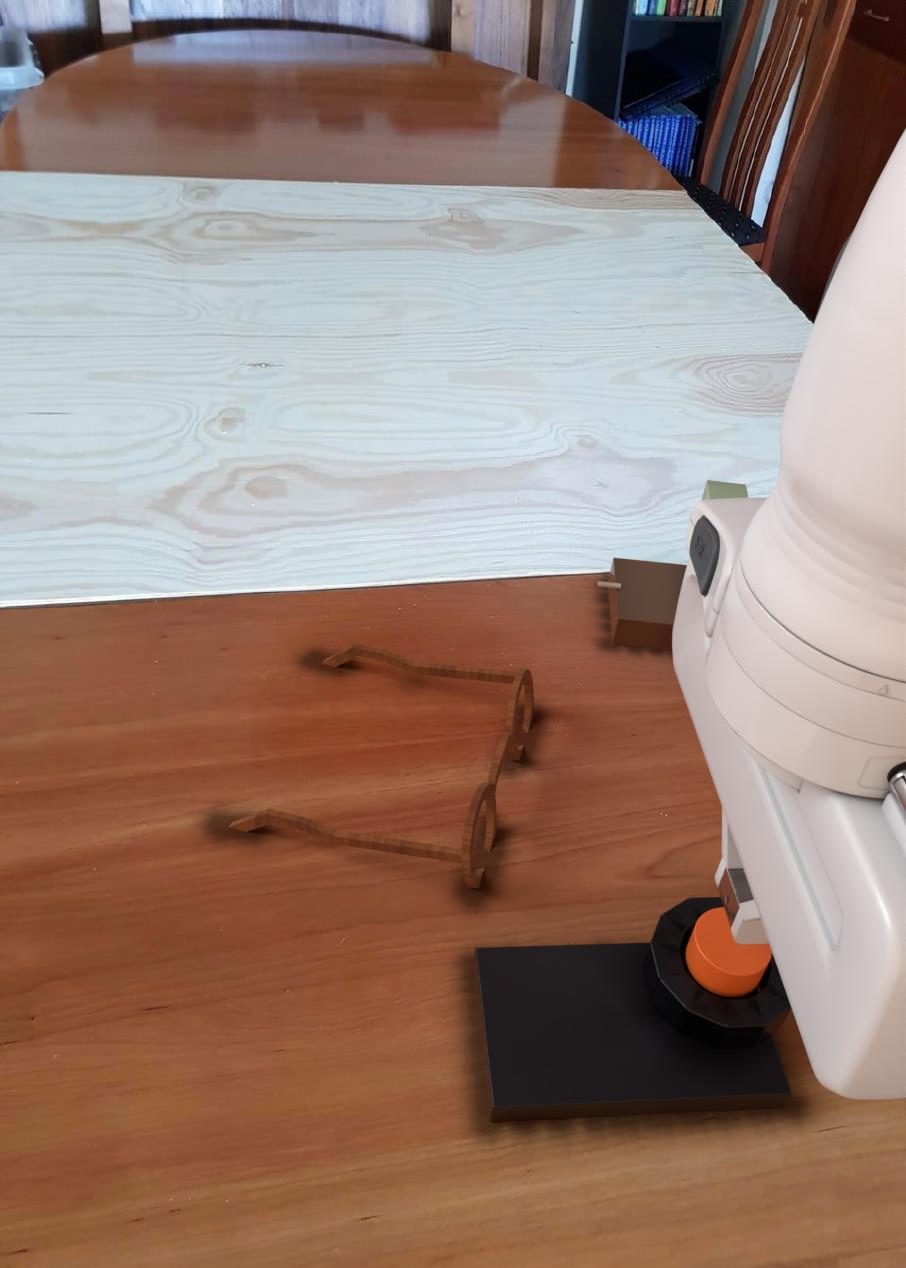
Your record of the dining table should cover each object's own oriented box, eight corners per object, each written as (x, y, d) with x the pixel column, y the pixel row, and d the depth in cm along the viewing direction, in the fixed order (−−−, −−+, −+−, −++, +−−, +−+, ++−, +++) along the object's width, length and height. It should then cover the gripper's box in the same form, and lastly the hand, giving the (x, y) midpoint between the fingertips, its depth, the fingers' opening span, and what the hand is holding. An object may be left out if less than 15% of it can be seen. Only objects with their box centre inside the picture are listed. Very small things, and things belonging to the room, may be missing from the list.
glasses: (475, 912, 50) (485, 846, 46) (218, 838, 52) (210, 770, 48) (534, 722, 59) (547, 656, 56) (316, 666, 61) (315, 599, 58)
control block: (749, 944, 50) (772, 894, 47) (806, 1117, 44) (836, 1070, 41) (468, 953, 48) (476, 902, 45) (487, 1133, 42) (497, 1086, 39)
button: (748, 929, 46) (759, 905, 45) (770, 996, 44) (783, 973, 42) (676, 931, 46) (685, 907, 44) (695, 999, 43) (705, 976, 42)
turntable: (795, 575, 72) (809, 537, 70) (838, 726, 61) (856, 687, 59) (586, 554, 72) (594, 515, 70) (593, 702, 61) (602, 661, 59)
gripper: (1137, 948, 26) (925, 1182, 35) (839, 480, 41) (746, 728, 50) (891, 955, 25) (740, 1192, 34) (681, 477, 40) (616, 729, 49)
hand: (742, 912), depth 42 cm, fingers closed
